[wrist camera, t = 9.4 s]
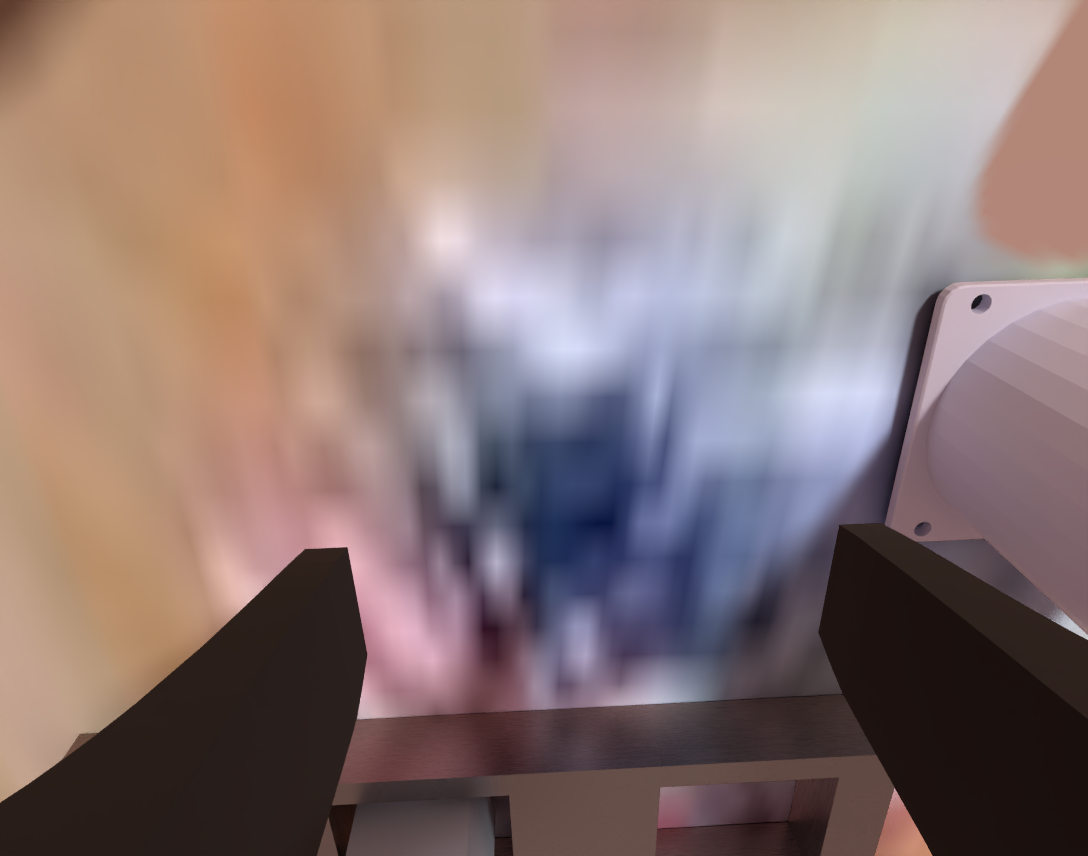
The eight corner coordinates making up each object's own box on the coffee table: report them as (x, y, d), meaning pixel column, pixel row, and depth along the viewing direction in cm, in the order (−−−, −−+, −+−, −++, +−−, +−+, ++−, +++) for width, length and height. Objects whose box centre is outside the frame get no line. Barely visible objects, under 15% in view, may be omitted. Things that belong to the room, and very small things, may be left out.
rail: (868, 693, 24) (904, 753, 22) (833, 834, 28) (861, 899, 26) (79, 734, 24) (34, 800, 22) (144, 874, 27) (111, 944, 25)
